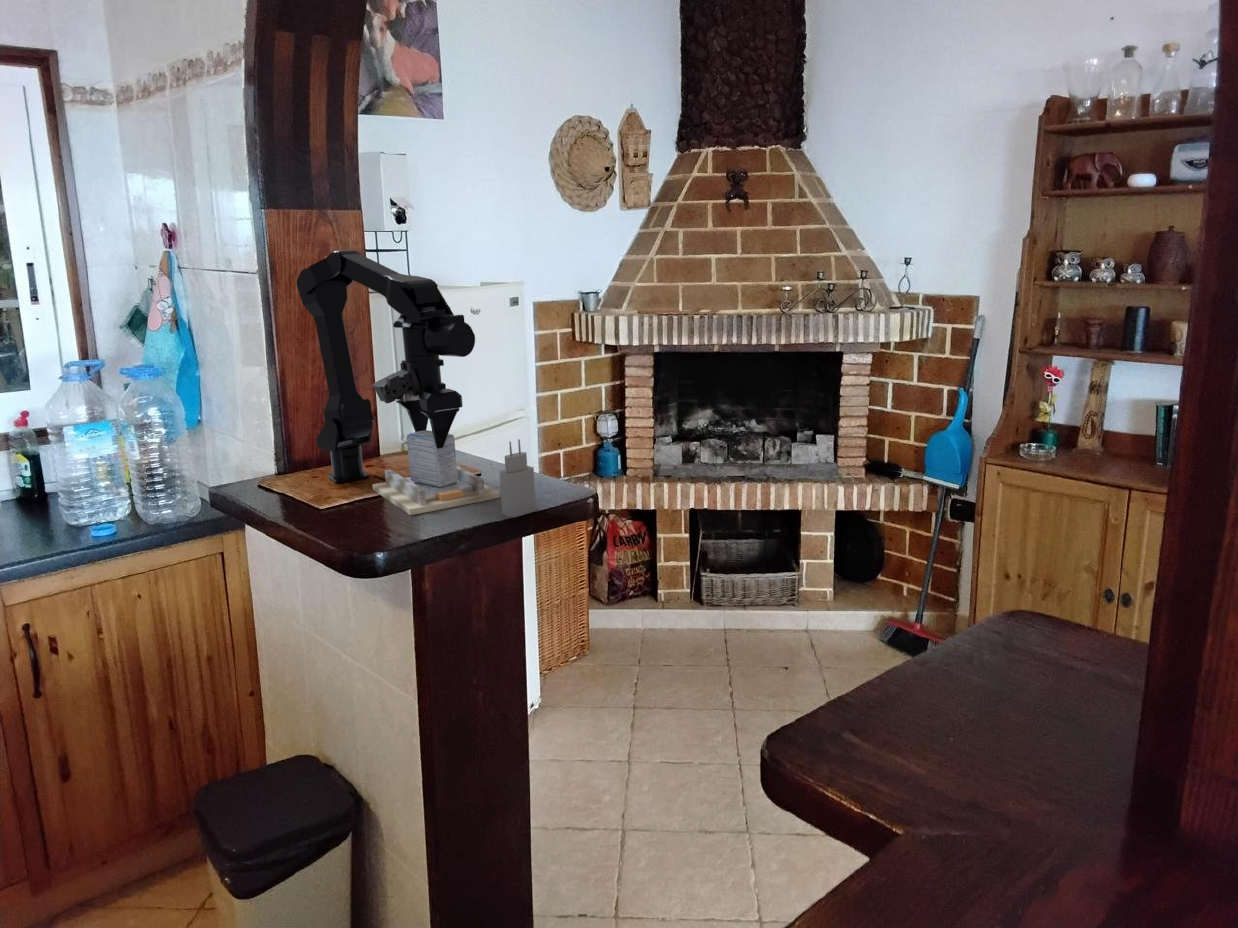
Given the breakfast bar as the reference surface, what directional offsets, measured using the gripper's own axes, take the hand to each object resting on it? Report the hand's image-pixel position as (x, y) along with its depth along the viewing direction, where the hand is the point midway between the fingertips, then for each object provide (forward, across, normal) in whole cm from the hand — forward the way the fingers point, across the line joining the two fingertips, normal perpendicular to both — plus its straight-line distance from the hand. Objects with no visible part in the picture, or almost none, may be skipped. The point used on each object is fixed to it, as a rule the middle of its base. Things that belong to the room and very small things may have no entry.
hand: (430, 443), depth 161 cm
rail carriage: (+8, +1, 0) cm, 8 cm away
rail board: (+9, 0, 0) cm, 9 cm away
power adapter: (+9, +20, +7) cm, 23 cm away
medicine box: (+7, 0, 0) cm, 7 cm away
